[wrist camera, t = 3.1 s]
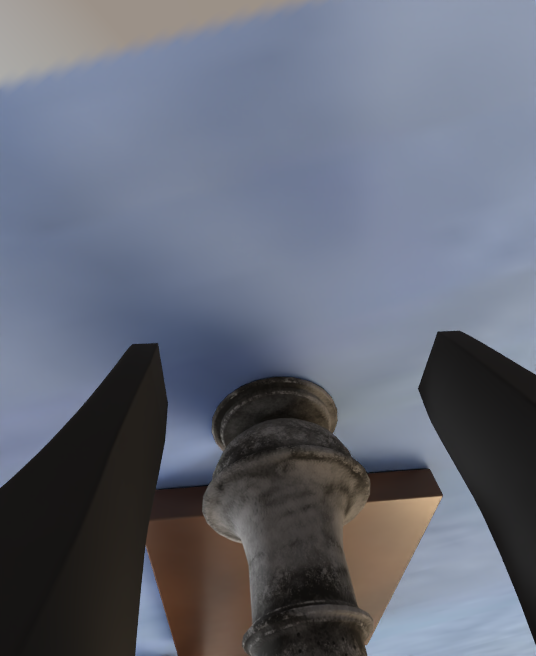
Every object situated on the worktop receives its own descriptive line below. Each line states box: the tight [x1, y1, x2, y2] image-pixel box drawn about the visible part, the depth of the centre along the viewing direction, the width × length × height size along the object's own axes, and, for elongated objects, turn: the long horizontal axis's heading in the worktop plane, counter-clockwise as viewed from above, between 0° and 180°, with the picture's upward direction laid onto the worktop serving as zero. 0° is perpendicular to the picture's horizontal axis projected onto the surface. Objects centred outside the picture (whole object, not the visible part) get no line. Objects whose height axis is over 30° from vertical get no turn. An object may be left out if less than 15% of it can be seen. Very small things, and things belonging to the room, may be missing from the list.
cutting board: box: [146, 469, 443, 656], centre depth 24 cm, size 14×20×2 cm
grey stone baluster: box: [202, 377, 374, 656], centre depth 12 cm, size 6×6×12 cm
